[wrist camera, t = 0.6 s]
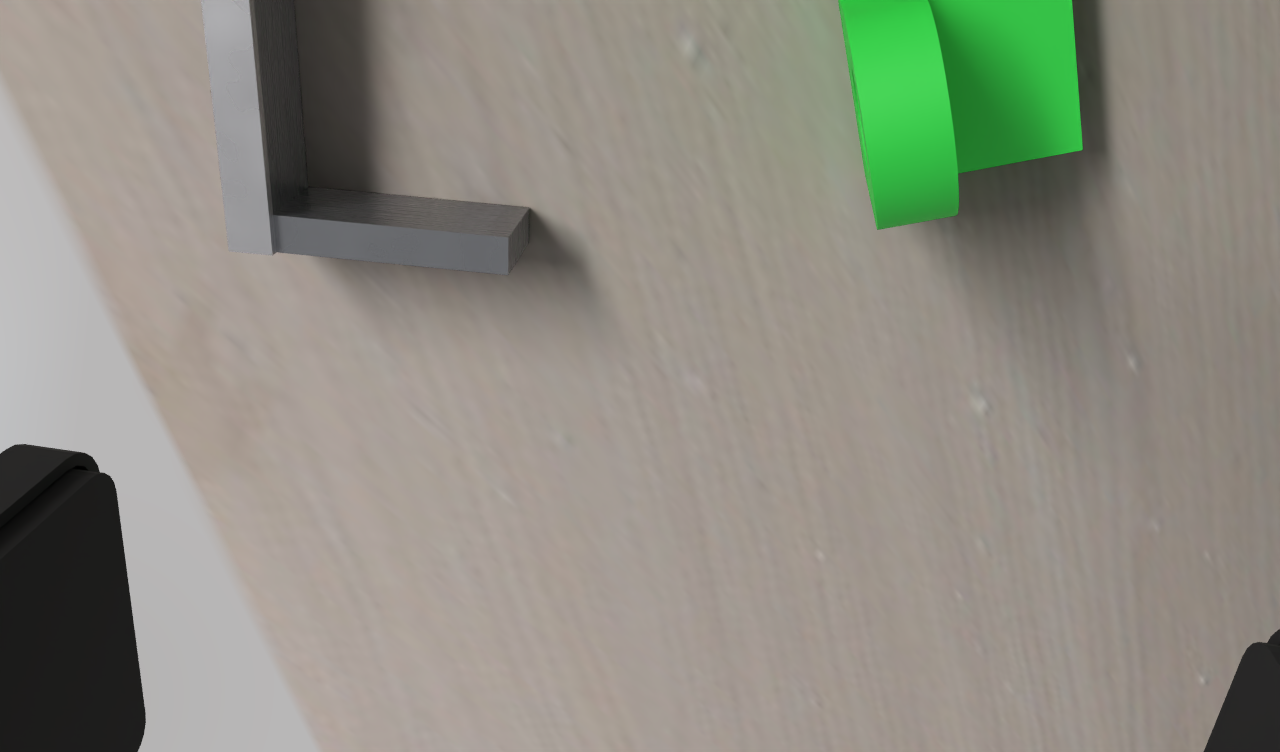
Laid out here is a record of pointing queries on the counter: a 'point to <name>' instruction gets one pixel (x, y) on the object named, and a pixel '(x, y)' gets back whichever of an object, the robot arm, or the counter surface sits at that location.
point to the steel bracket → (277, 176)
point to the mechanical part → (956, 94)
